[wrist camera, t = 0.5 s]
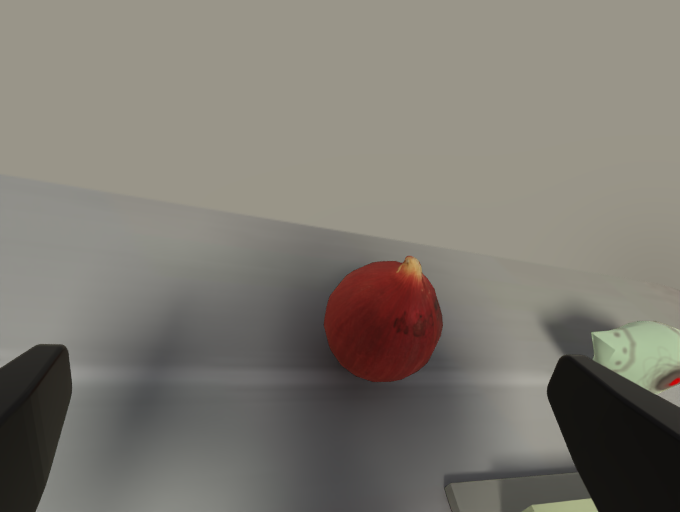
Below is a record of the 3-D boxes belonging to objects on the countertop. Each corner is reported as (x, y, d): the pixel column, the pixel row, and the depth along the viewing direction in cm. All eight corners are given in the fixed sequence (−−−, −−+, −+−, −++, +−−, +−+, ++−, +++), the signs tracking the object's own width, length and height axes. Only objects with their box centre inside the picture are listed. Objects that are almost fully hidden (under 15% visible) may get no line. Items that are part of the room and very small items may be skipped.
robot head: (623, 366, 36) (699, 306, 31) (659, 419, 33) (748, 363, 29) (537, 366, 33) (608, 300, 28) (570, 425, 30) (654, 363, 26)
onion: (417, 357, 30) (489, 265, 24) (382, 432, 25) (460, 339, 20) (334, 303, 30) (387, 203, 25) (286, 367, 26) (338, 262, 21)
